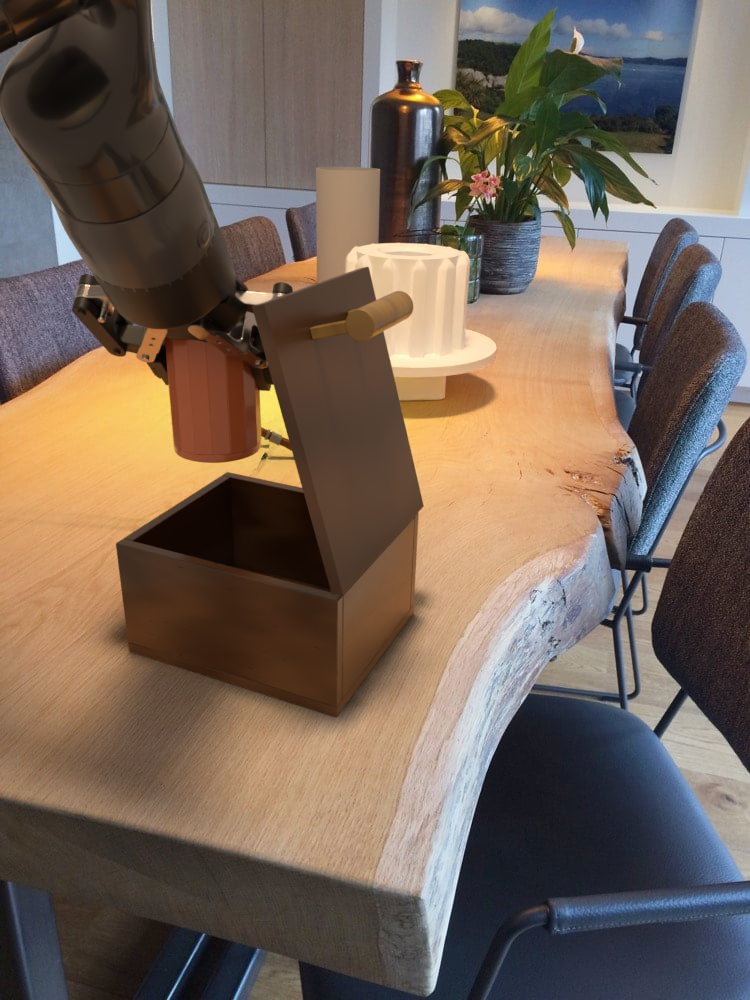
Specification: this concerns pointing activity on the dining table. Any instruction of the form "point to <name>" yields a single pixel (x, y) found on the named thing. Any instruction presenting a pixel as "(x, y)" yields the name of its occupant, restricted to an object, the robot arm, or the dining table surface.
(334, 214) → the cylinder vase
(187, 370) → the cup
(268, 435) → the toy mortar
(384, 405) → the lid
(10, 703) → the dining table surface
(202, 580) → the chest
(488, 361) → the flanged gear
